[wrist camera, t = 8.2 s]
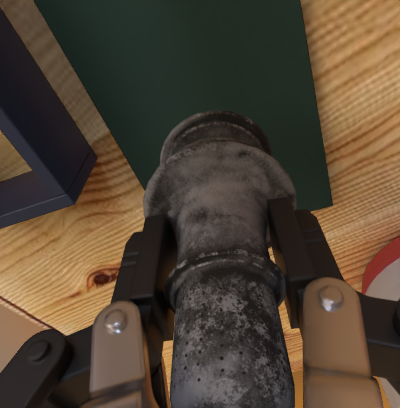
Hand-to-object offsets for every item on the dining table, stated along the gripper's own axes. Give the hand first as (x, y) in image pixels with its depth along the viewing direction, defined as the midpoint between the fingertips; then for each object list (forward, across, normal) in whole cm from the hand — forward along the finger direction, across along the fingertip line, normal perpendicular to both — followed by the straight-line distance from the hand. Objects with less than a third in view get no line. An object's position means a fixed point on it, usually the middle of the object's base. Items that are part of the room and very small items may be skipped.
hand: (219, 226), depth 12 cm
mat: (+10, 0, -1) cm, 10 cm away
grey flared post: (+5, 0, 0) cm, 5 cm away
